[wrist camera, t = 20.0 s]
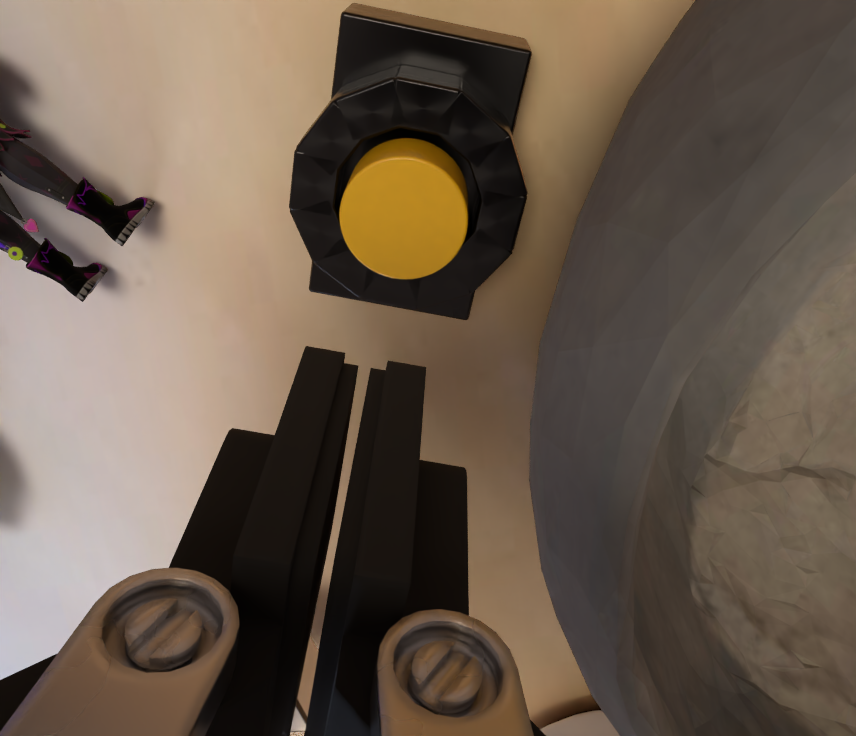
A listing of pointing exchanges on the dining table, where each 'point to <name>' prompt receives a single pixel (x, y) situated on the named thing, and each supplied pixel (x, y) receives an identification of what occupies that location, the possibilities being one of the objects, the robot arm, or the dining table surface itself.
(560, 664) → the dining table surface
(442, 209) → the button
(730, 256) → the bowl
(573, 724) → the saucepan
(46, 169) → the character figure
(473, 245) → the button housing
